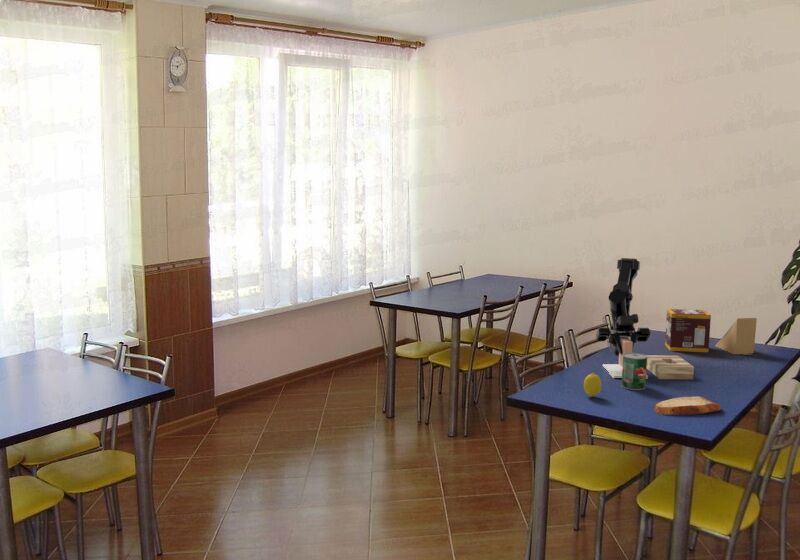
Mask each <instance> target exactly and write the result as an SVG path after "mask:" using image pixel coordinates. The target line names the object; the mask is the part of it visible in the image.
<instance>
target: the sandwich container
mask: <svg viewBox="0 0 800 560" xmlns="http://www.w3.org/2000/svg"><path fill="white" fill-rule="evenodd" d="M757 320H758V319H757V317H741V318H739V317H738V318H737V319H736V320H735V321H734V322H733V323H732V325H731V326H730V328H729V329H728V330H727V331H726V332H725V334H724V335H723V336H722V337H721V338H720V340H718V342H717V343H716V344H715V345H714V346H715V347H716V348H718V347H719V349H720V348H721V349H720V350H723V351H725V352H727V351H728V353H730V354H732V355H734V354H743V355H749V354H748V353H755V352H754V350H755V342H756V341H755V340H756V330H757V322H758V321H757Z"/></svg>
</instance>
